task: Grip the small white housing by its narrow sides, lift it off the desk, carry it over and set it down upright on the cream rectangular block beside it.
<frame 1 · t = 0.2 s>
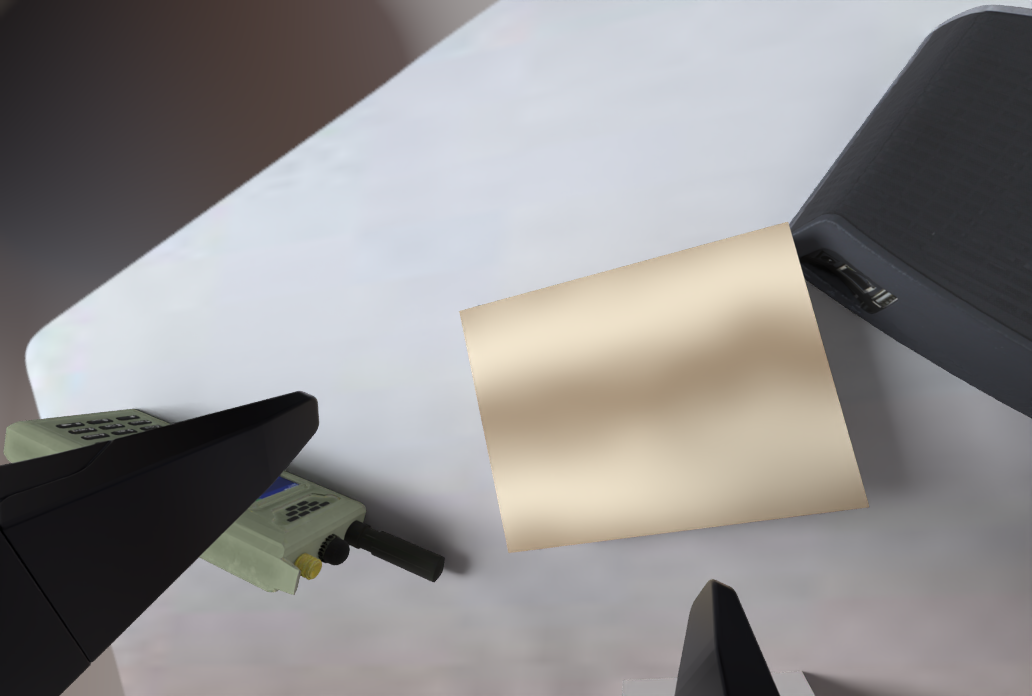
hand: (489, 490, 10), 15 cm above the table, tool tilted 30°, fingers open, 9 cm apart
handheld radio: (274, 484, 29), on the table
cream rectangular block: (640, 392, 23), on the table
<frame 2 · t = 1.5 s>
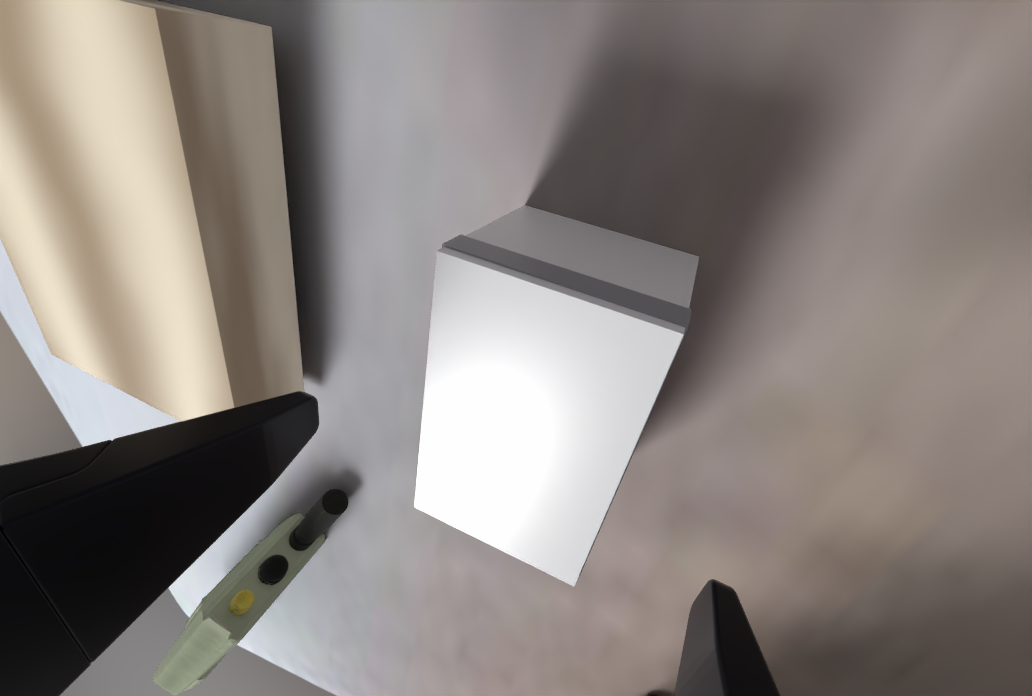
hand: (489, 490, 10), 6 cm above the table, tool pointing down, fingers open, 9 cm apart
handheld radio: (286, 555, 31), on the table
white housing: (574, 348, 15), on the table
cream rectangular block: (199, 213, 19), on the table
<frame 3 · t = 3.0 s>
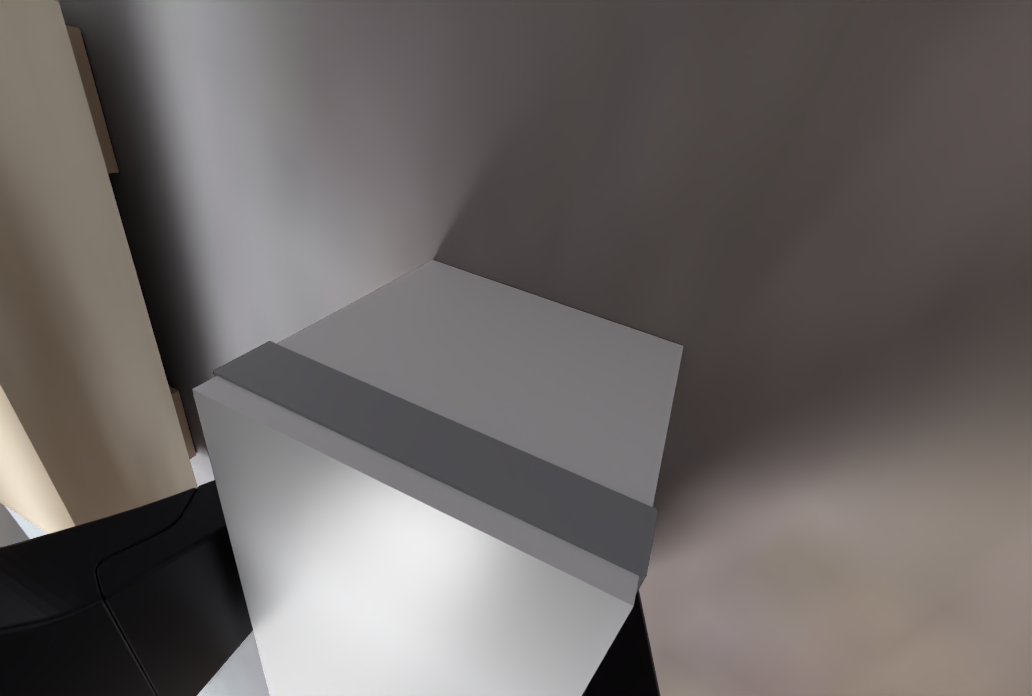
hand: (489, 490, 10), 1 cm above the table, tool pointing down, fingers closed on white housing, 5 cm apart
white housing: (512, 453, 11), on the table, touching gripper
cream rectangular block: (49, 251, 14), on the table
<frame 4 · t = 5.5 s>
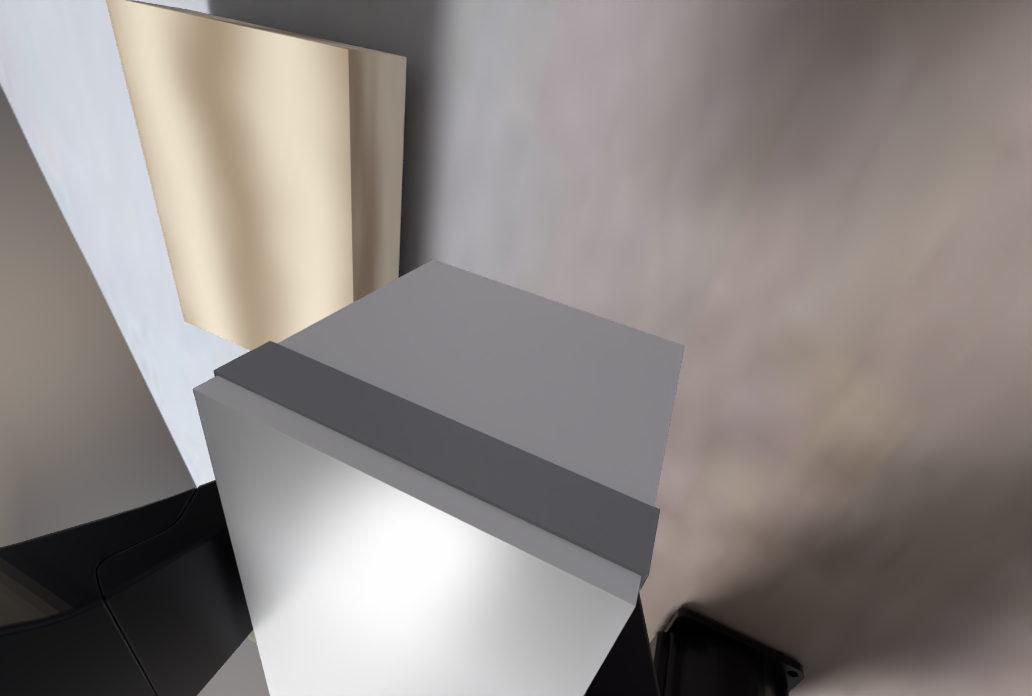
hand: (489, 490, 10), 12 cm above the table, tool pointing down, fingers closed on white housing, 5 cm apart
white housing: (513, 453, 11), point 10 cm above the table, touching gripper
cream rectangular block: (314, 203, 23), on the table
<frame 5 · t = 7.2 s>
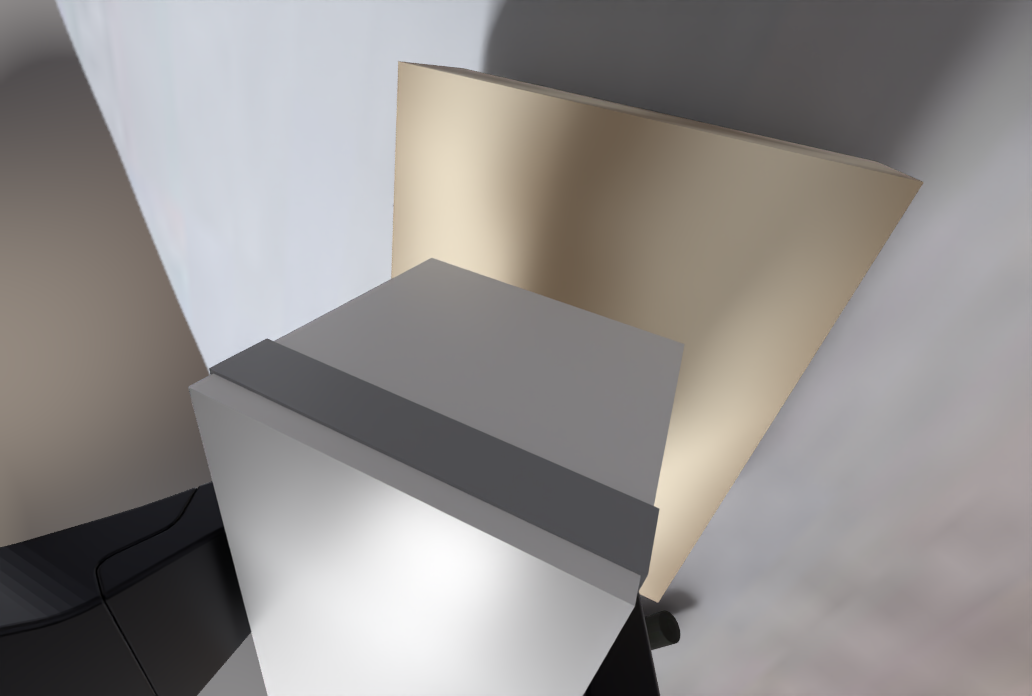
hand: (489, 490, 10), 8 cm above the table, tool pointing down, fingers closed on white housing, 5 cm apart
handheld radio: (524, 652, 29), on the table
white housing: (512, 452, 11), point 7 cm above the table, touching gripper
cream rectangular block: (587, 325, 16), on the table
when the fingers open (7 cm above the table, at t = 8.2 s): white housing drops 2 cm, resting on cream rectangular block.
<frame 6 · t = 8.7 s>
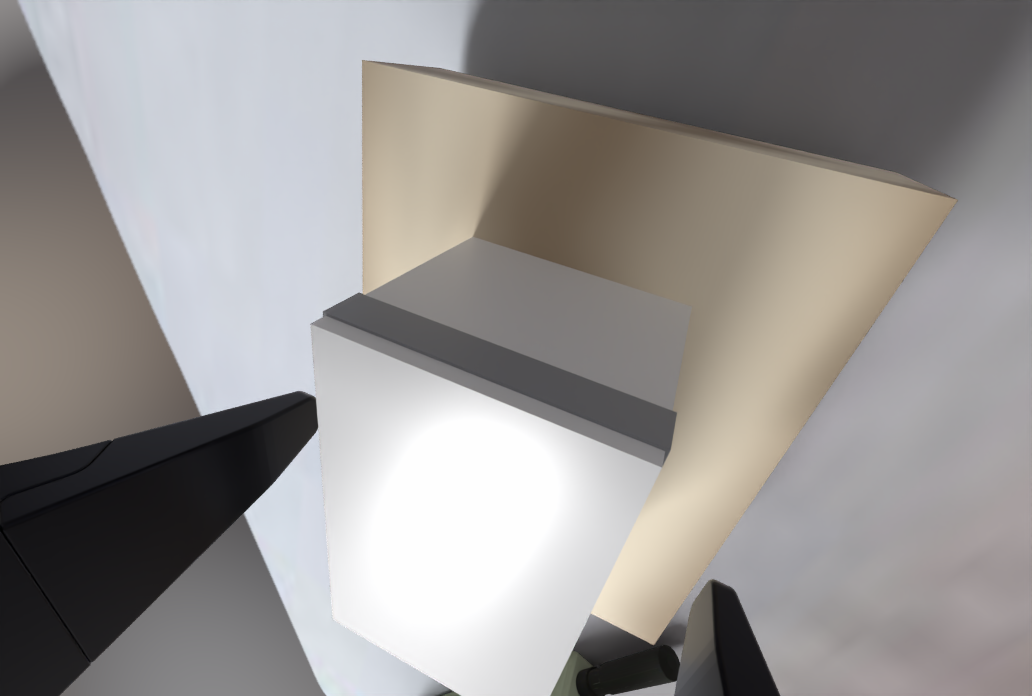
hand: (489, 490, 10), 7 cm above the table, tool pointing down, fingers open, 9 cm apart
handheld radio: (519, 679, 28), on the table
white housing: (538, 410, 12), point 4 cm above the table, touching cream rectangular block
cream rectangular block: (578, 344, 15), on the table
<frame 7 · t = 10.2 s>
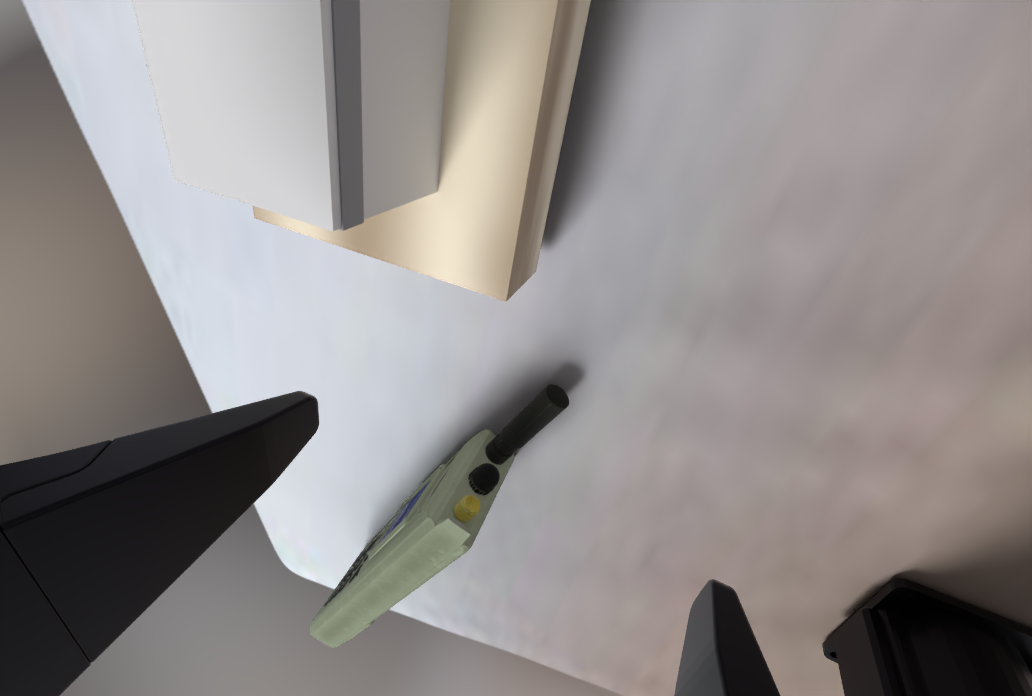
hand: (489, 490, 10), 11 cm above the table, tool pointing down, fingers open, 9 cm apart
handheld radio: (449, 489, 29), on the table
white housing: (371, 31, 13), point 4 cm above the table, touching cream rectangular block
cream rectangular block: (437, 43, 17), on the table
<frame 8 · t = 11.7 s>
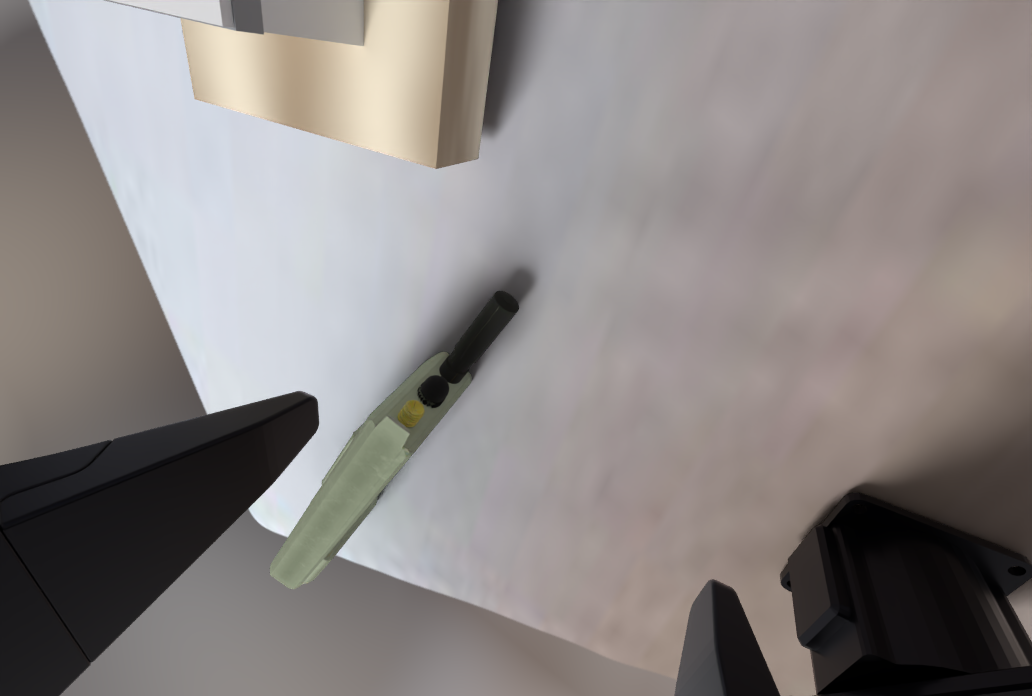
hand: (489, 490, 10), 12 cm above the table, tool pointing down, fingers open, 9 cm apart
handheld radio: (412, 425, 29), on the table
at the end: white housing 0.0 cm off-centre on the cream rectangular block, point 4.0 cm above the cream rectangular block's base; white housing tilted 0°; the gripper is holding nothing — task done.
